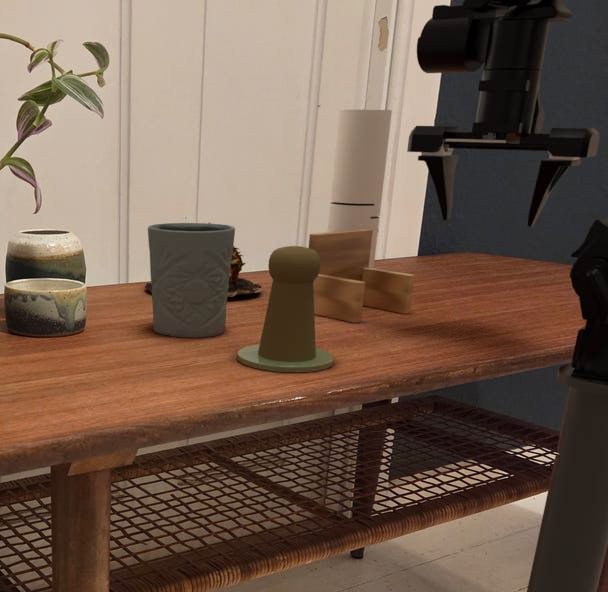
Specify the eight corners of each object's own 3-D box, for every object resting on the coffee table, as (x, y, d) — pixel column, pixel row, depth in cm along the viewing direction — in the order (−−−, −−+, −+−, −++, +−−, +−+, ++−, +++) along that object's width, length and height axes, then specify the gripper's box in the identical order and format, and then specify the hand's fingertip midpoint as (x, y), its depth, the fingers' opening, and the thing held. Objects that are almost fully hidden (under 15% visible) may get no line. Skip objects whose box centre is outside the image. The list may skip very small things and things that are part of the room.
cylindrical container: (313, 287, 134) (329, 109, 125) (354, 285, 136) (373, 110, 127) (337, 295, 128) (356, 109, 119) (380, 293, 130) (402, 110, 121)
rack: (410, 312, 117) (420, 235, 113) (355, 323, 111) (364, 241, 107) (357, 302, 123) (365, 228, 120) (302, 311, 117) (309, 233, 113)
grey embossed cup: (199, 343, 99) (204, 233, 95) (128, 330, 105) (129, 226, 100) (245, 328, 107) (251, 225, 102) (176, 317, 112) (179, 219, 108)
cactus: (136, 298, 124) (137, 226, 120) (153, 280, 138) (154, 215, 135) (259, 304, 121) (264, 231, 117) (263, 285, 136) (268, 219, 132)
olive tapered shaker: (263, 361, 90) (271, 250, 85) (253, 347, 95) (260, 243, 91) (322, 362, 90) (333, 251, 86) (309, 347, 95) (318, 243, 91)
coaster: (348, 358, 94) (349, 353, 93) (307, 378, 86) (308, 372, 86) (264, 344, 99) (265, 339, 99) (219, 361, 92) (219, 356, 91)
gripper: (622, 73, 94) (591, 224, 100) (447, 75, 105) (428, 212, 110) (603, 67, 86) (570, 232, 92) (415, 71, 96) (396, 219, 102)
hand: (487, 223), depth 99 cm, fingers open, 9 cm apart
